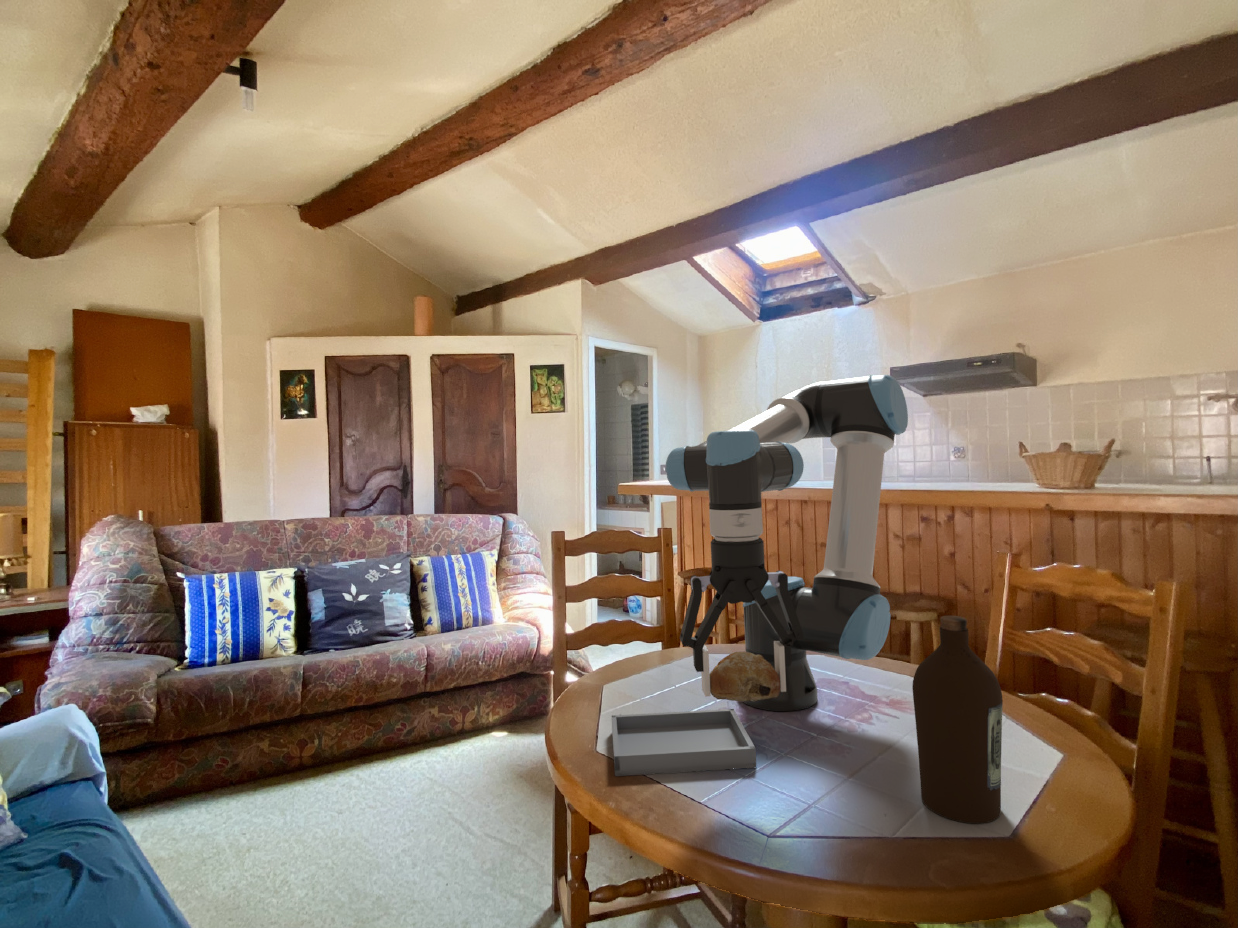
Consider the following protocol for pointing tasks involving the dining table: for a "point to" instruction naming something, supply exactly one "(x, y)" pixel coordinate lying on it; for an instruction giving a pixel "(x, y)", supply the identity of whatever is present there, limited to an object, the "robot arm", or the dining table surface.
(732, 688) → the bread roll
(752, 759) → the tray
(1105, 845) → the dining table surface
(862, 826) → the dining table surface
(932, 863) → the dining table surface
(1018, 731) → the dining table surface
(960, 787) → the olive oil
